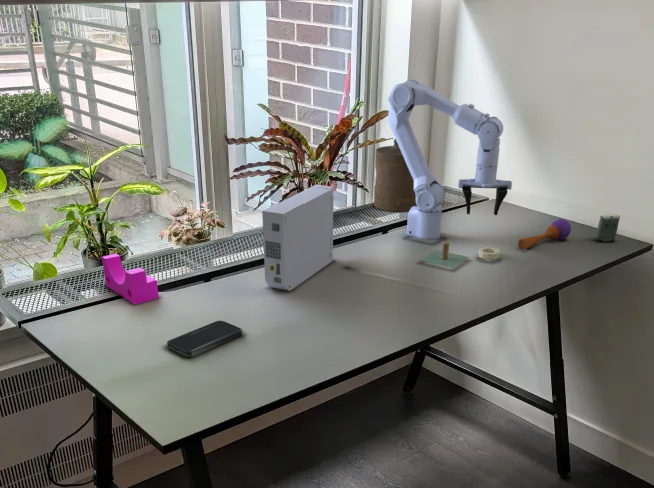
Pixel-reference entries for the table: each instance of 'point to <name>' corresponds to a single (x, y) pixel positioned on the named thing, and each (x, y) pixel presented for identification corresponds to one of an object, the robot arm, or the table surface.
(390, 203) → the wooden container
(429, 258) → the tape stand
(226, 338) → the phone
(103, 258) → the toy block
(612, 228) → the grey upright rounded block
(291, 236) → the game console
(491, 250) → the tape roll
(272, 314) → the table surface
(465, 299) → the table surface
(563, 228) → the maraca
